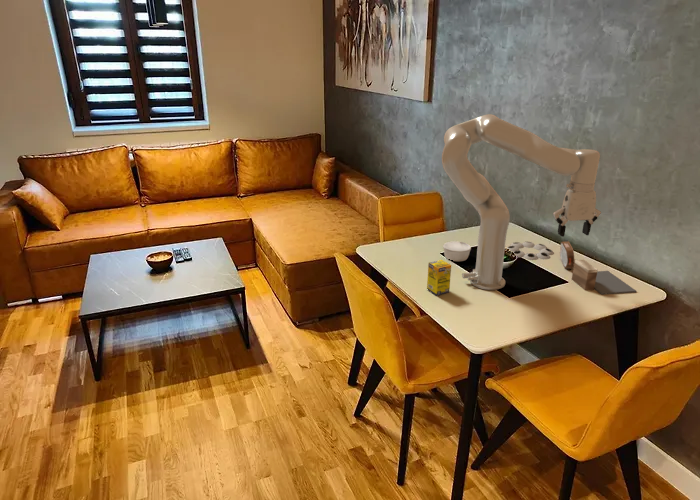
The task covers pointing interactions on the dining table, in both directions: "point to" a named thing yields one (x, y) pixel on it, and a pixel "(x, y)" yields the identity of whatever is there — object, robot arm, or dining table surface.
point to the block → (584, 274)
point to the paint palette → (540, 247)
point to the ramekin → (456, 250)
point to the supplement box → (439, 277)
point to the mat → (610, 284)
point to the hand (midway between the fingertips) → (573, 234)
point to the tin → (567, 255)
